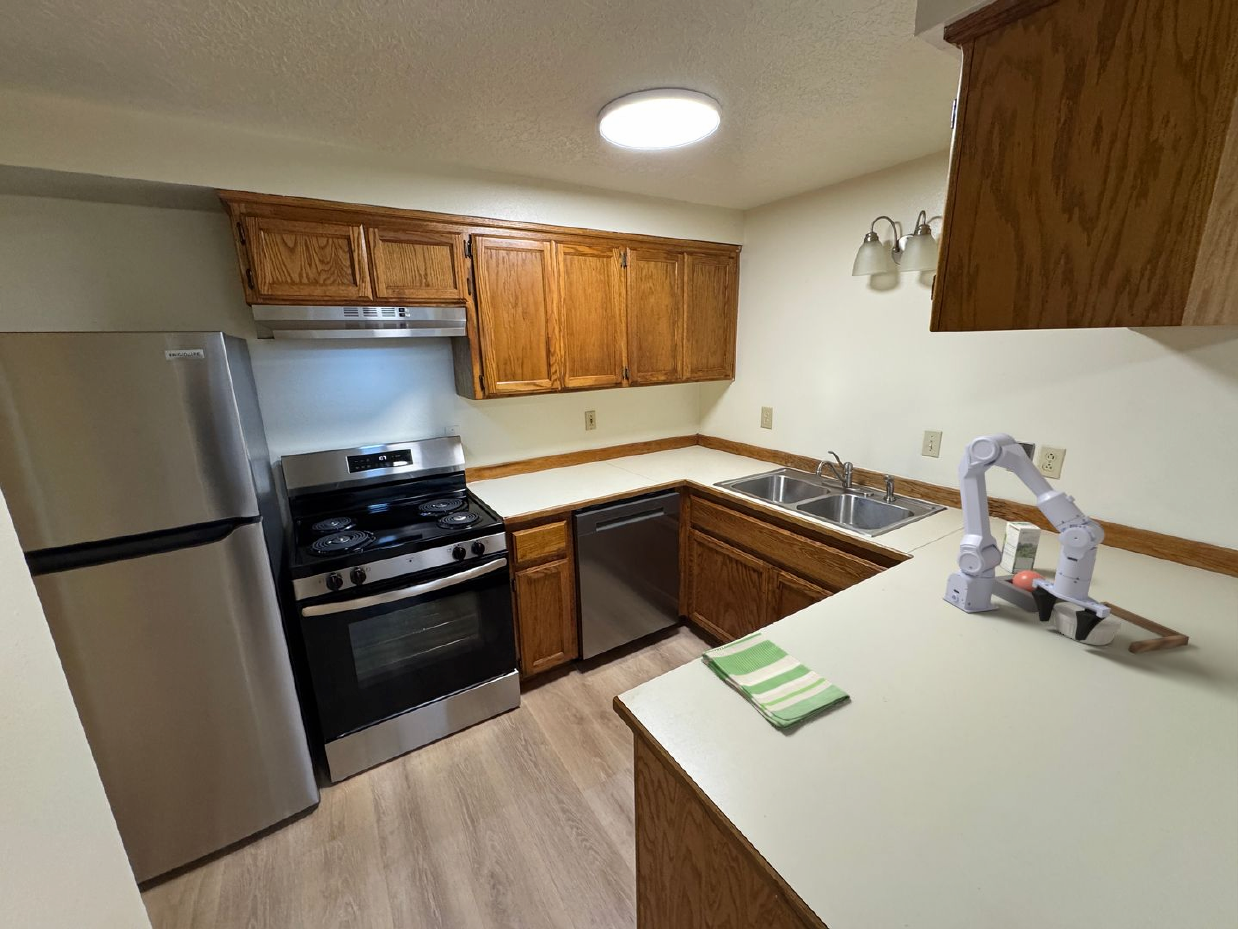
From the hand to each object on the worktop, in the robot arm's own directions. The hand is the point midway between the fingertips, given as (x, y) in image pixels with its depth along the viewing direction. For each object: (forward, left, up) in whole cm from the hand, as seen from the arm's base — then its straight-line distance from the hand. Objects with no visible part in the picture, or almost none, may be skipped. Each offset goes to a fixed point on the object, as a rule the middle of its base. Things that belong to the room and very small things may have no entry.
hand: (1061, 630), depth 110 cm
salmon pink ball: (+10, +16, -1) cm, 19 cm away
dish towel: (-72, 0, -3) cm, 72 cm away
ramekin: (+6, 0, -2) cm, 6 cm away
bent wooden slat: (+16, 0, -2) cm, 16 cm away
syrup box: (+24, +31, -2) cm, 39 cm away
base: (+10, +16, -2) cm, 19 cm away
